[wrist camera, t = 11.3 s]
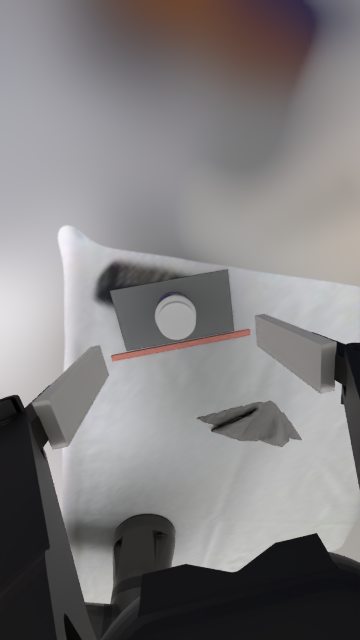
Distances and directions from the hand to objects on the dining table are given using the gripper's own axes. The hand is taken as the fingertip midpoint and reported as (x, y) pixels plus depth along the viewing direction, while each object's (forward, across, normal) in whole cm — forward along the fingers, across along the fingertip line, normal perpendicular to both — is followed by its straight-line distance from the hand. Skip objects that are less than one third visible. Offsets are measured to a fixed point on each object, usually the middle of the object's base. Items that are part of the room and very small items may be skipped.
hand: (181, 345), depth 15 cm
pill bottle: (+17, 0, 0) cm, 17 cm away
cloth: (+18, +13, -29) cm, 37 cm away
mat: (+17, 0, 0) cm, 17 cm away
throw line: (+17, 0, -7) cm, 19 cm away
